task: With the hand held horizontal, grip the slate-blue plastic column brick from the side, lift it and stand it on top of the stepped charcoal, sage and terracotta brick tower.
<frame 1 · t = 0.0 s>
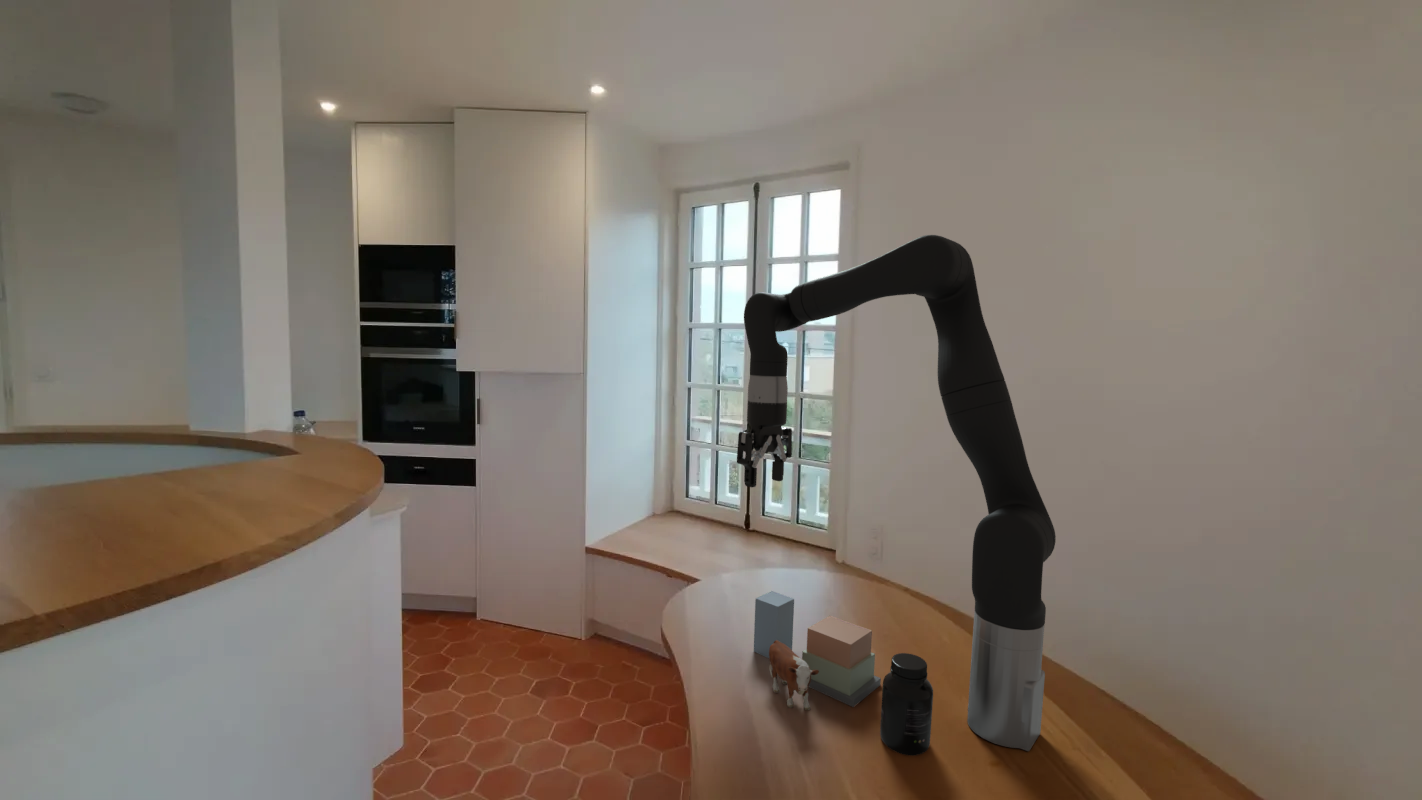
hand: (764, 483, 119), 29 cm above the table, tool pointing down, fingers open, 8 cm apart
bull figurine: (791, 701, 97), on the table
brick tower: (837, 682, 103), on the table
column brick: (772, 651, 113), on the table
supplement bottle: (904, 743, 88), on the table
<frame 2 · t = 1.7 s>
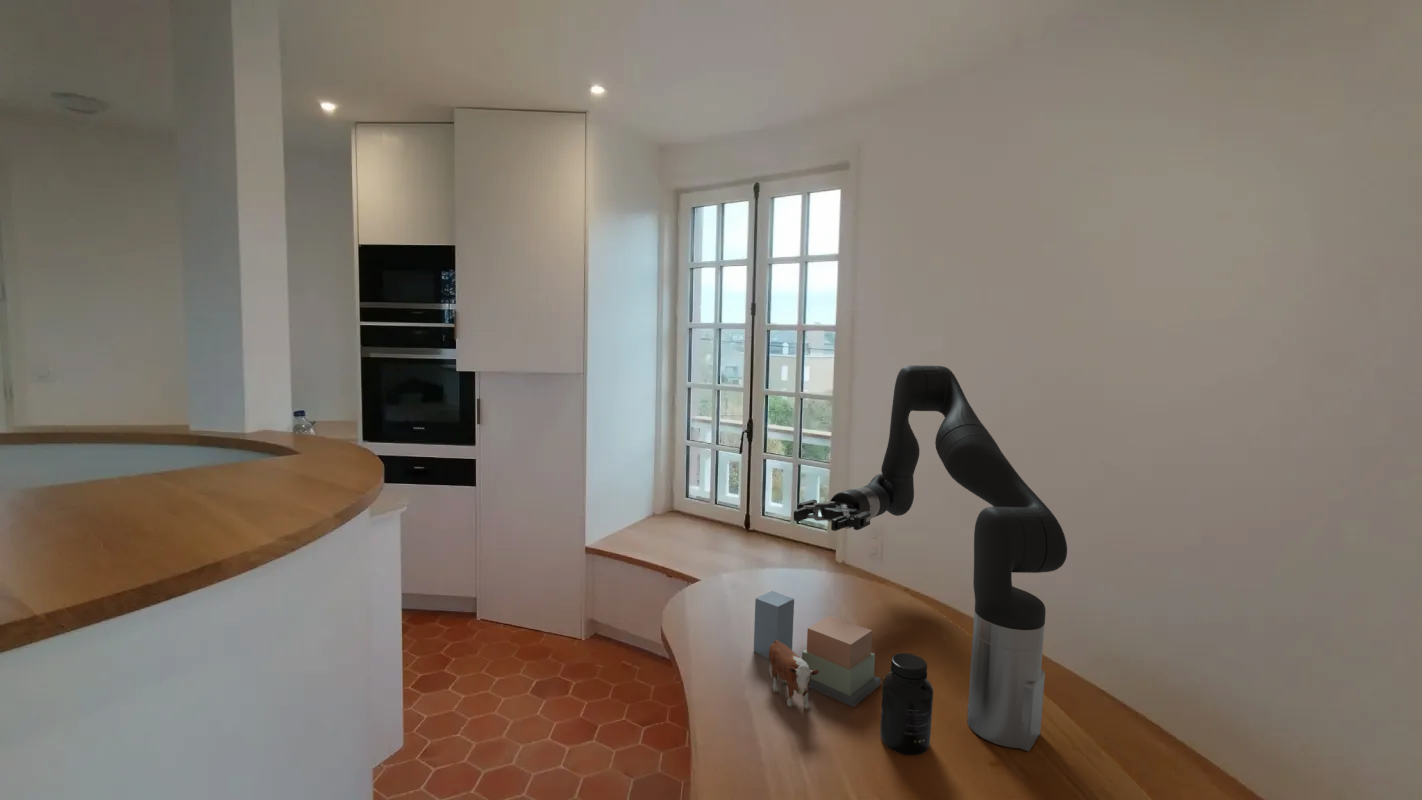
hand: (813, 520, 120), 22 cm above the table, tool horizontal, fingers open, 8 cm apart
nothing on the table moved.
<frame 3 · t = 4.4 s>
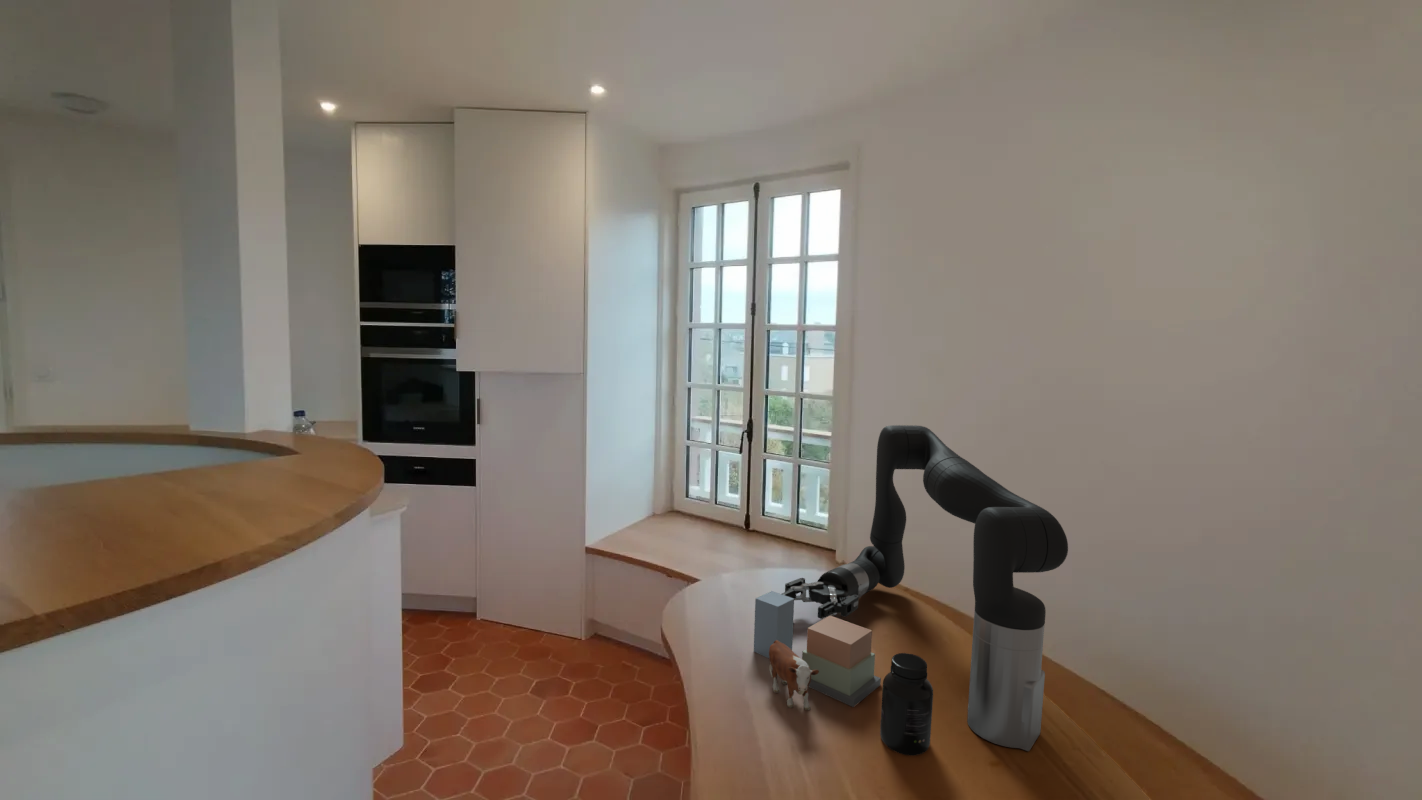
hand: (800, 606, 119), 6 cm above the table, tool horizontal, fingers open, 8 cm apart
nothing on the table moved.
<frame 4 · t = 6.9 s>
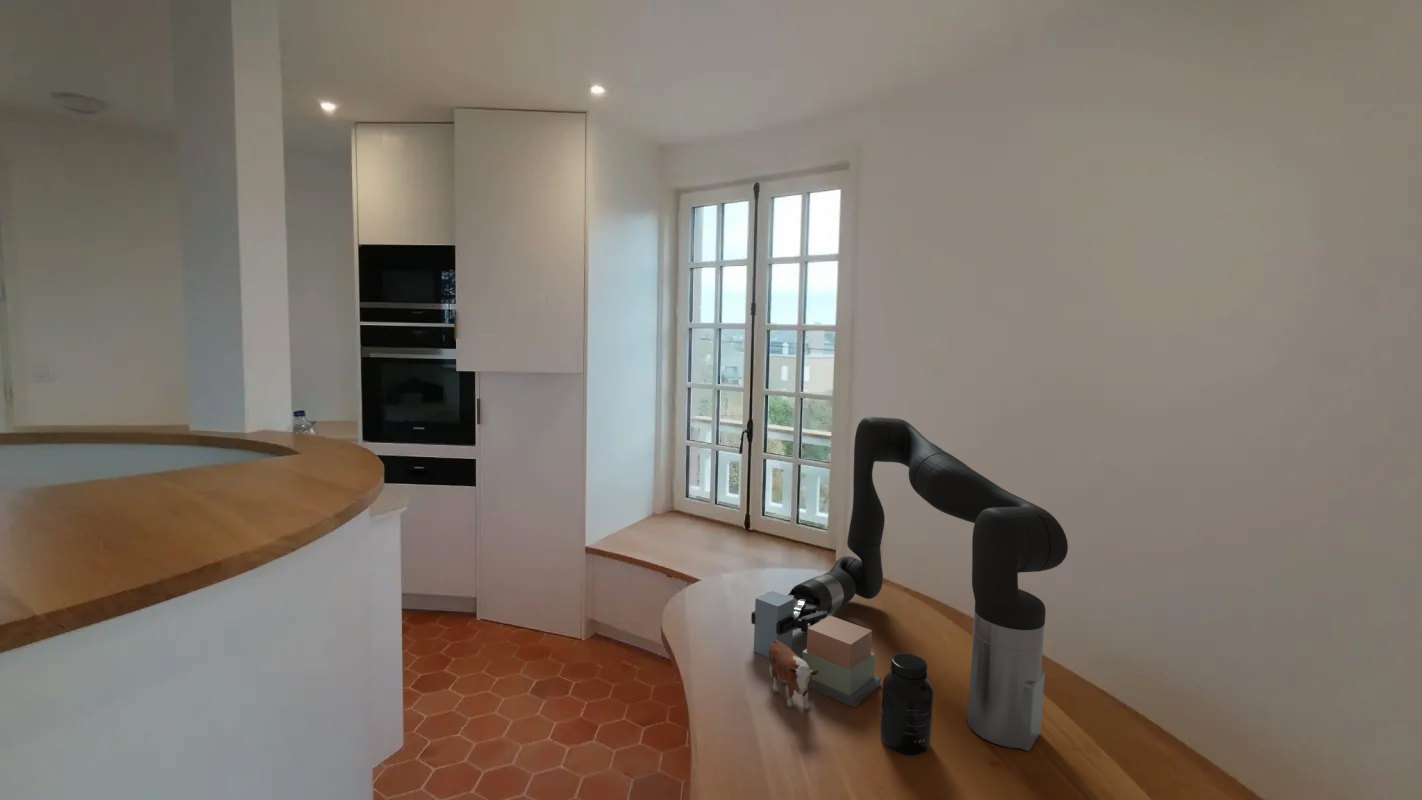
hand: (765, 623, 110), 6 cm above the table, tool horizontal, fingers closed on column brick, 5 cm apart
column brick: (772, 651, 113), on the table, touching gripper
everything else where it was.
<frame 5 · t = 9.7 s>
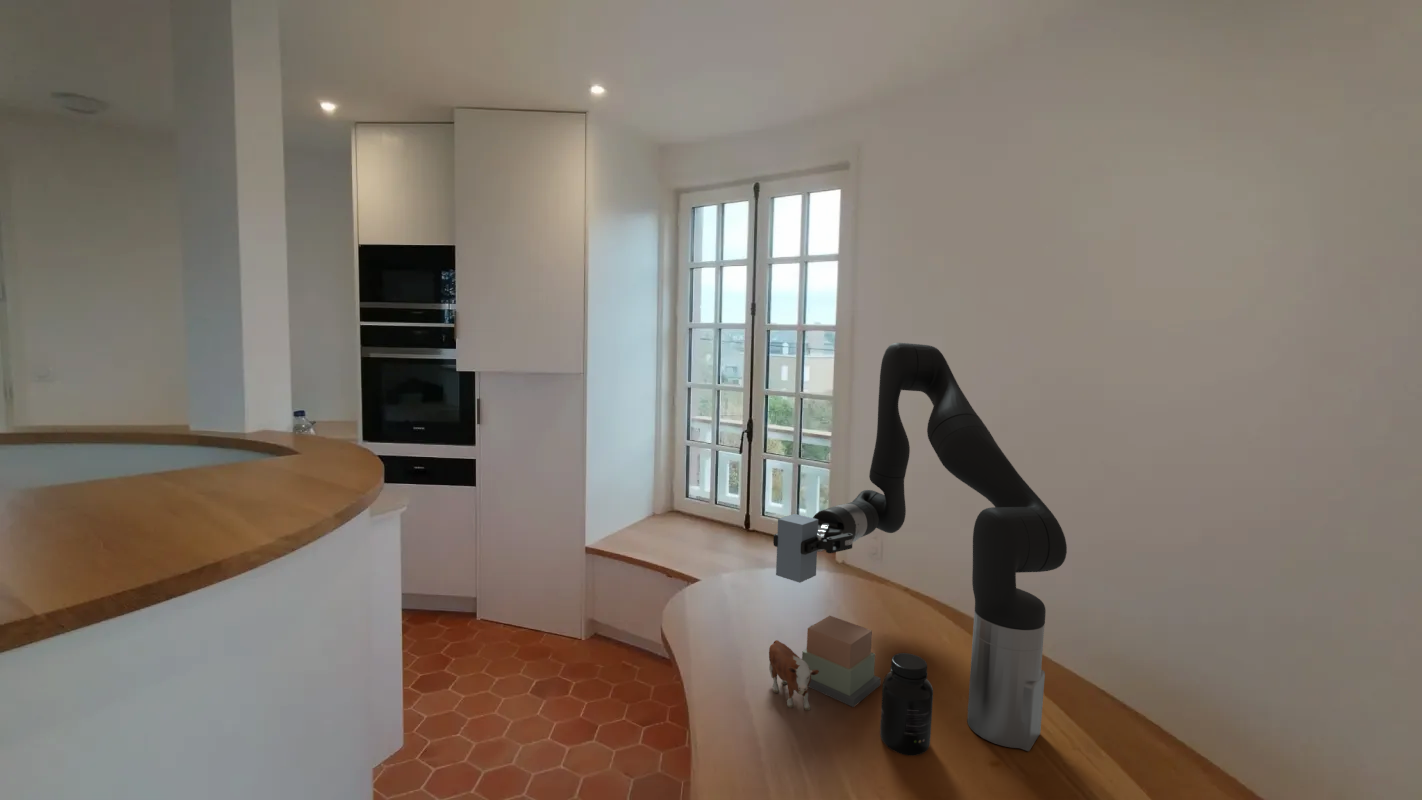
hand: (789, 544, 106), 22 cm above the table, tool horizontal, fingers closed on column brick, 5 cm apart
column brick: (796, 575, 108), point 16 cm above the table, touching gripper
everything else where it was.
when the fingers open (17 cm above the table, at t = 12.5 s): column brick drops 1 cm, resting on brick tower.
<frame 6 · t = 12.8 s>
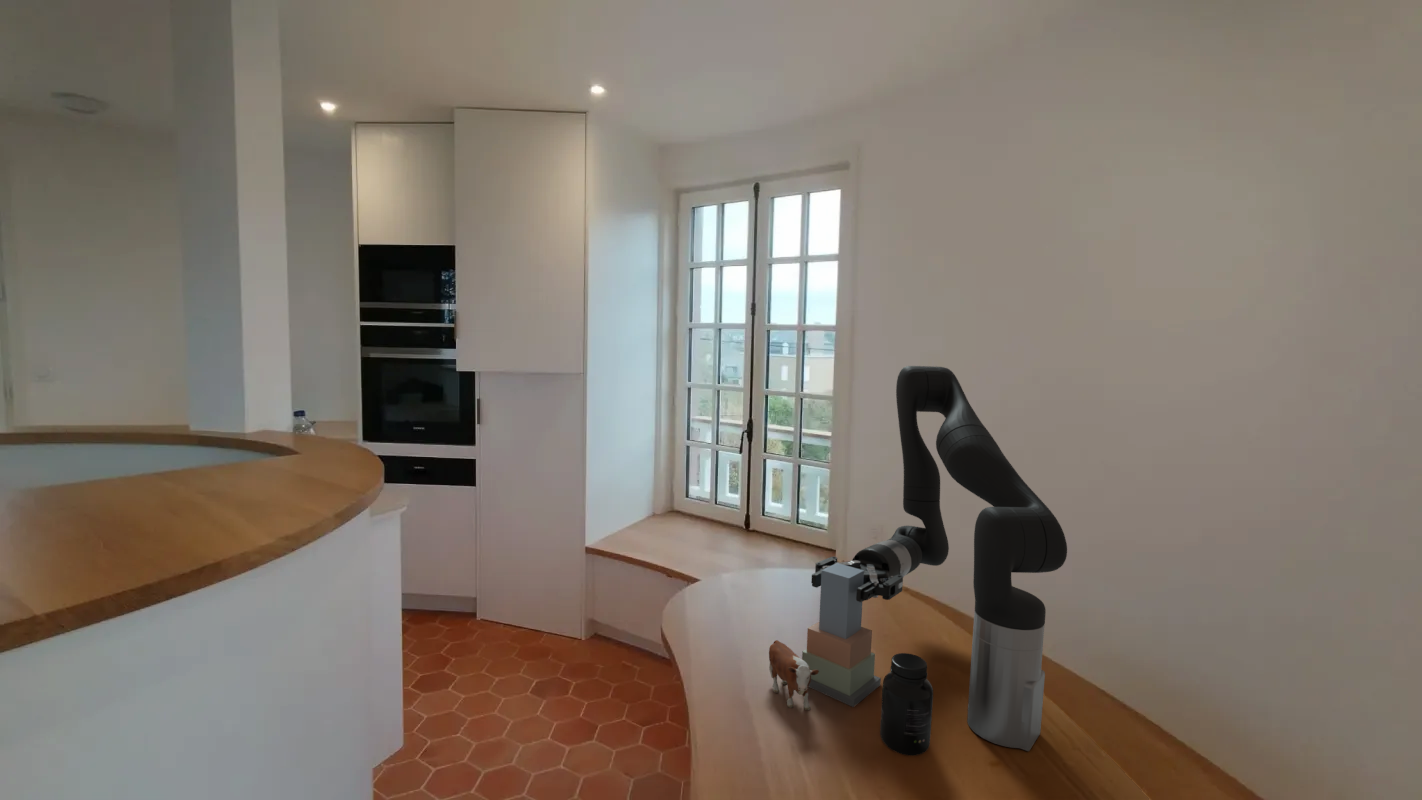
hand: (835, 588, 100), 17 cm above the table, tool horizontal, fingers open, 8 cm apart
column brick: (840, 629, 102), point 9 cm above the table, touching brick tower
everything else where it was.
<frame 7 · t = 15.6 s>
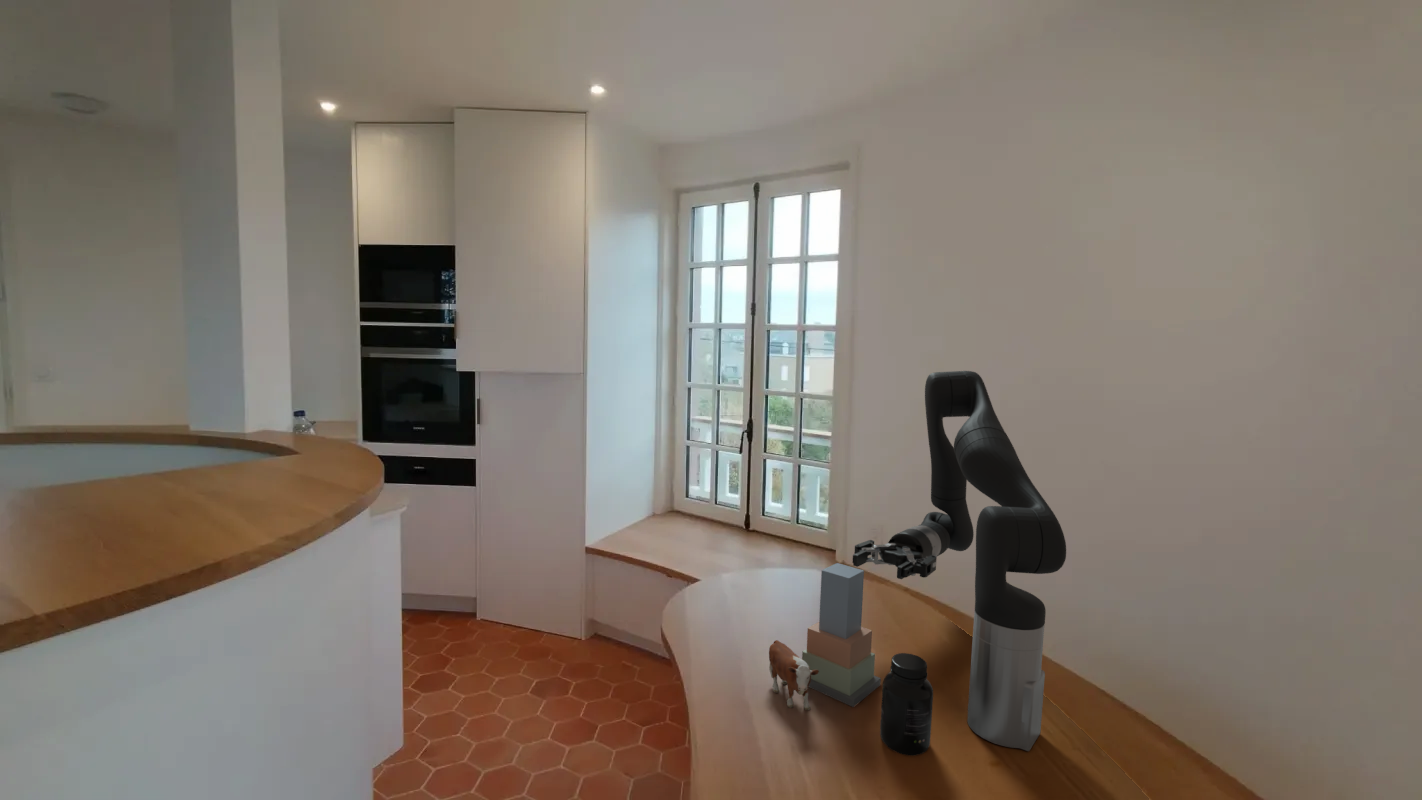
hand: (876, 567, 110), 17 cm above the table, tool horizontal, fingers open, 8 cm apart
nothing on the table moved.
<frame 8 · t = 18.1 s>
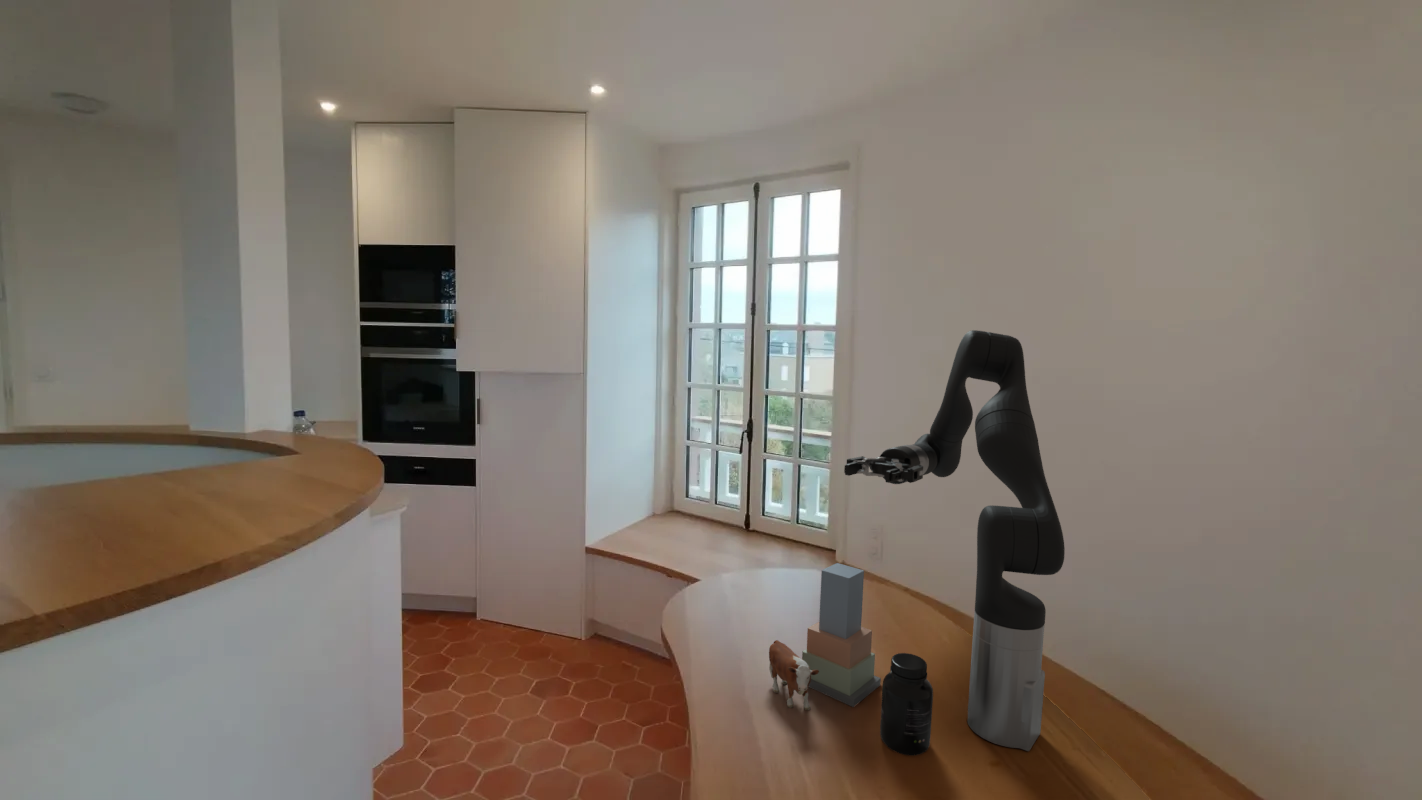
hand: (866, 473, 118), 32 cm above the table, tool horizontal, fingers open, 8 cm apart
nothing on the table moved.
at the end: column brick 0.0 cm off-centre on the brick tower, point 9.2 cm above the brick tower's base; column brick tilted 0°; the gripper is holding nothing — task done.
